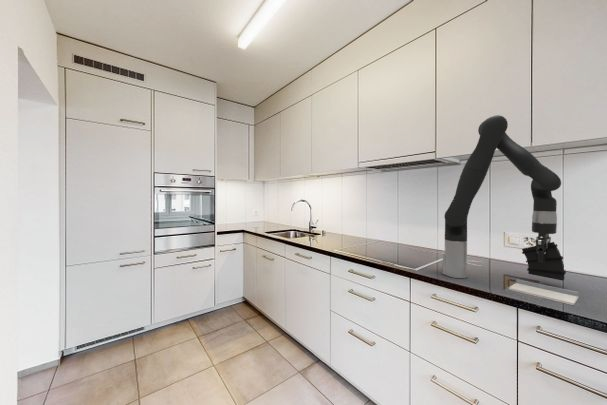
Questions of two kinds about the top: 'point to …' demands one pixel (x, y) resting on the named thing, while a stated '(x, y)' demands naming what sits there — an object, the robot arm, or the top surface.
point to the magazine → (552, 262)
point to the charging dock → (545, 291)
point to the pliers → (474, 261)
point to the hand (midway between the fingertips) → (542, 261)
